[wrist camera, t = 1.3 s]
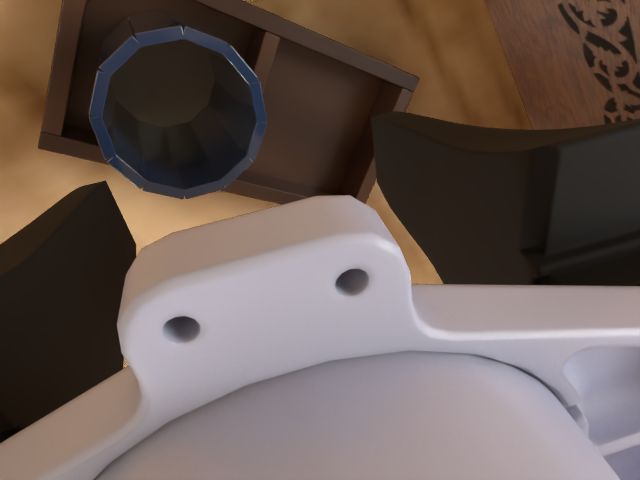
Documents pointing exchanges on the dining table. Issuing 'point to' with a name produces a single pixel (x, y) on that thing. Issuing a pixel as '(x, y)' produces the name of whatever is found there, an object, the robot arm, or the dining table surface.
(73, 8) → the cup holder
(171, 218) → the dining table surface
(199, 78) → the cup
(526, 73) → the tissue box cover
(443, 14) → the dining table surface
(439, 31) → the dining table surface
